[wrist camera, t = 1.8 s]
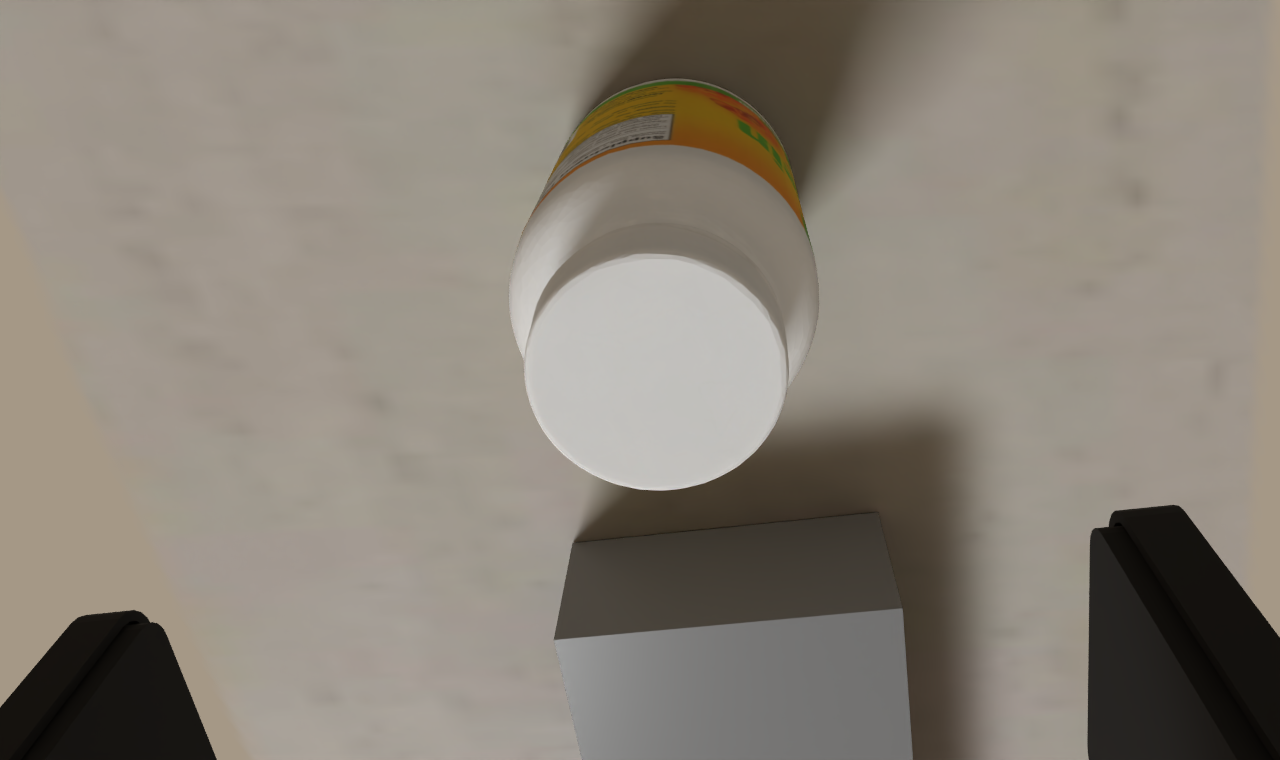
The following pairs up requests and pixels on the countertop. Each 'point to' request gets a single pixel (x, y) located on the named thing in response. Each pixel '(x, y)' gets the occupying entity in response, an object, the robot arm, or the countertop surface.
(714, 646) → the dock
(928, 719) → the countertop surface
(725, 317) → the supplement bottle
